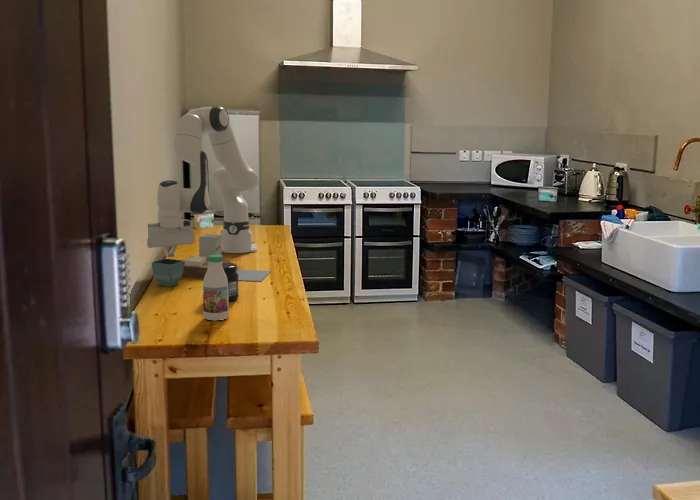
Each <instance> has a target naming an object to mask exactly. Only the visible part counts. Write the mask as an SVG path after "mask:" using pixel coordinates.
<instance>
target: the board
mask: <svg viewBox="0 0 700 500" xmlns="http://www.w3.org/2000/svg"><path fill="white" fill-rule="evenodd" d="M183 261H184V269H183V275H182V277H181V278H189V279H190V278H192V279H194V278H195V279H204V277H205V274H206V272H207V269H208V265H209V264H208V260H206V262H205V263H204V264H203V265H201V266H185V260H183ZM223 262H227V263H231V261H229V260H227V261H226V260H223Z"/></svg>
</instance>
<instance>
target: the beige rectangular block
mask: <svg viewBox="0 0 700 500" xmlns="http://www.w3.org/2000/svg"><path fill="white" fill-rule="evenodd" d="M184 261H185V266H201V265H203V264H204V263H205V262H206V257H199V256H196V255H195V256H190V257H188V258H186V259H184Z"/></svg>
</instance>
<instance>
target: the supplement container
mask: <svg viewBox="0 0 700 500" xmlns="http://www.w3.org/2000/svg"><path fill="white" fill-rule="evenodd" d="M222 267H223V270H224V272H225V274H226V276H227V280H228V299H229V301H231V302H234V301H237V299H238V298H239V281H238V277H239V275H238V273H237V272H236V271H237V269H238V265H237V263H234V262H230V263H227V262H223V263H222Z"/></svg>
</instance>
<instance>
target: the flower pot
mask: <svg viewBox="0 0 700 500" xmlns="http://www.w3.org/2000/svg"><path fill="white" fill-rule="evenodd" d="M184 261H185V260H183V259H174V258H173V259H172V258H161V259H159V260H156V261H153V262H152V261H151V269H152V274H153V275H152V276H153V277H154V280H155V281H156V283H157V285H158V286H164V287H173V286H177V285H178V284H179V282H180V281H181V279H182V278H183V277H182V275H183V269H184Z"/></svg>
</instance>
